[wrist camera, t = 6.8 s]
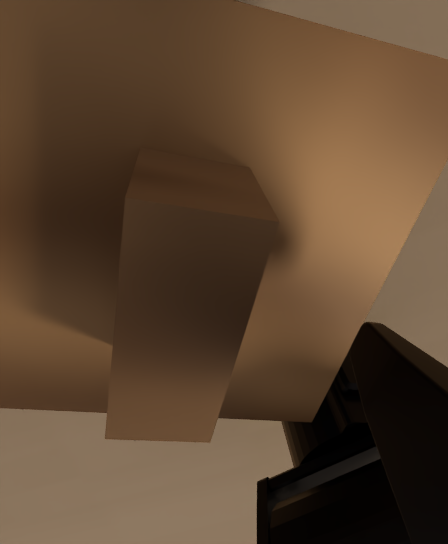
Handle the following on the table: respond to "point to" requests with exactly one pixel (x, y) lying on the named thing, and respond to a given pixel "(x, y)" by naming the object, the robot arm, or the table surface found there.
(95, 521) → the table surface
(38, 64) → the lid
